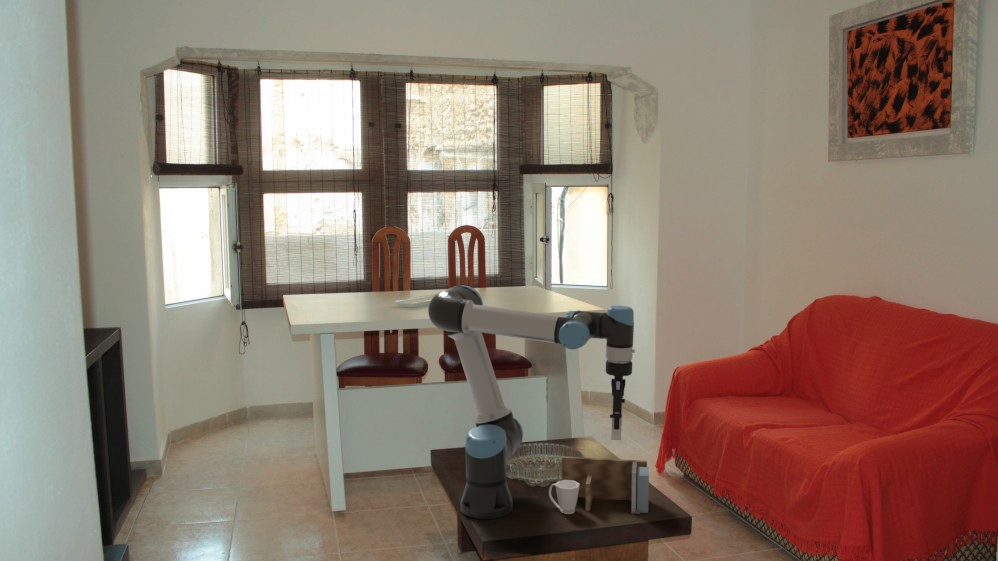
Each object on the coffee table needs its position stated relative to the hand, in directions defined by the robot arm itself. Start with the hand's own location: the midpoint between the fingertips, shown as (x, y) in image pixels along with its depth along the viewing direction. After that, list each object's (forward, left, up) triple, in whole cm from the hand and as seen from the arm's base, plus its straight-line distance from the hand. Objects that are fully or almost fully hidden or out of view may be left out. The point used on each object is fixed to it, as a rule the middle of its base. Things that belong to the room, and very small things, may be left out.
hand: (616, 432), depth 239 cm
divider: (-8, -2, -22) cm, 23 cm away
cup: (-15, -6, -22) cm, 27 cm away
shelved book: (+8, -1, -22) cm, 23 cm away
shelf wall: (-4, +4, -22) cm, 23 cm away
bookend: (+5, -1, -22) cm, 23 cm away
